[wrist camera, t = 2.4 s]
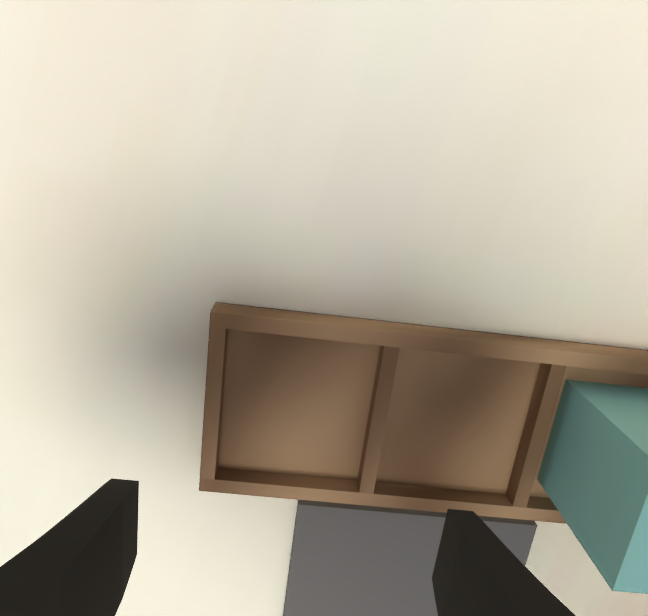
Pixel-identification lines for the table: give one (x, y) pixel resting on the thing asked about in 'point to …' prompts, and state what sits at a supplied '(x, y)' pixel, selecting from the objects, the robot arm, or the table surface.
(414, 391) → the organizer
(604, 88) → the table surface
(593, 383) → the teal block
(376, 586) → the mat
